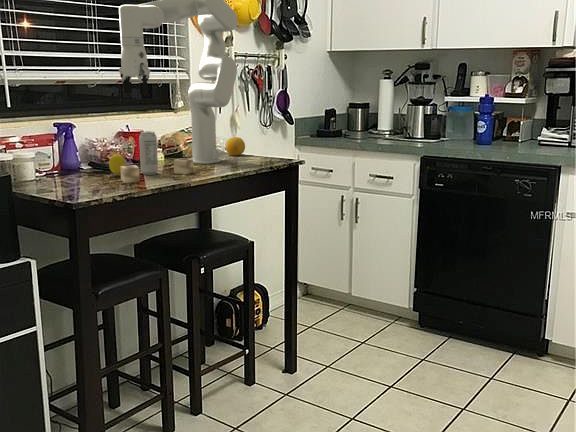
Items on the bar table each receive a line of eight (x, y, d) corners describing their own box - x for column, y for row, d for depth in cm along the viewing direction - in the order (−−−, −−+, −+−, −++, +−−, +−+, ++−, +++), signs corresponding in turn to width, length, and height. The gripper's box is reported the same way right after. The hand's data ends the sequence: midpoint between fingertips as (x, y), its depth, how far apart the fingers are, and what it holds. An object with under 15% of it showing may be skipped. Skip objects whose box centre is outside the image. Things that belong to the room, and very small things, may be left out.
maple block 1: (135, 179, 215) (135, 164, 214) (139, 182, 211) (138, 166, 209) (121, 180, 213) (120, 165, 211) (124, 183, 208) (123, 167, 207)
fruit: (221, 155, 271) (221, 137, 269) (234, 153, 277) (234, 135, 275) (236, 157, 265) (235, 138, 263) (249, 155, 271) (249, 137, 269)
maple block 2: (182, 171, 232) (181, 157, 230) (193, 172, 229) (193, 158, 228) (174, 173, 227) (173, 159, 226) (185, 174, 225) (184, 160, 224)
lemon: (120, 173, 225) (119, 151, 223) (128, 175, 221) (127, 153, 220) (106, 175, 222) (105, 152, 220) (114, 177, 218) (113, 154, 216)
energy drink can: (154, 171, 230) (152, 130, 226) (160, 174, 225) (159, 132, 221) (138, 173, 226) (136, 131, 223) (144, 175, 221) (142, 133, 218)
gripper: (156, 42, 210) (159, 94, 215) (127, 43, 222) (130, 92, 226) (137, 42, 205) (140, 95, 209) (109, 43, 216) (112, 93, 221)
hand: (135, 93), depth 218 cm, fingers open, 9 cm apart
